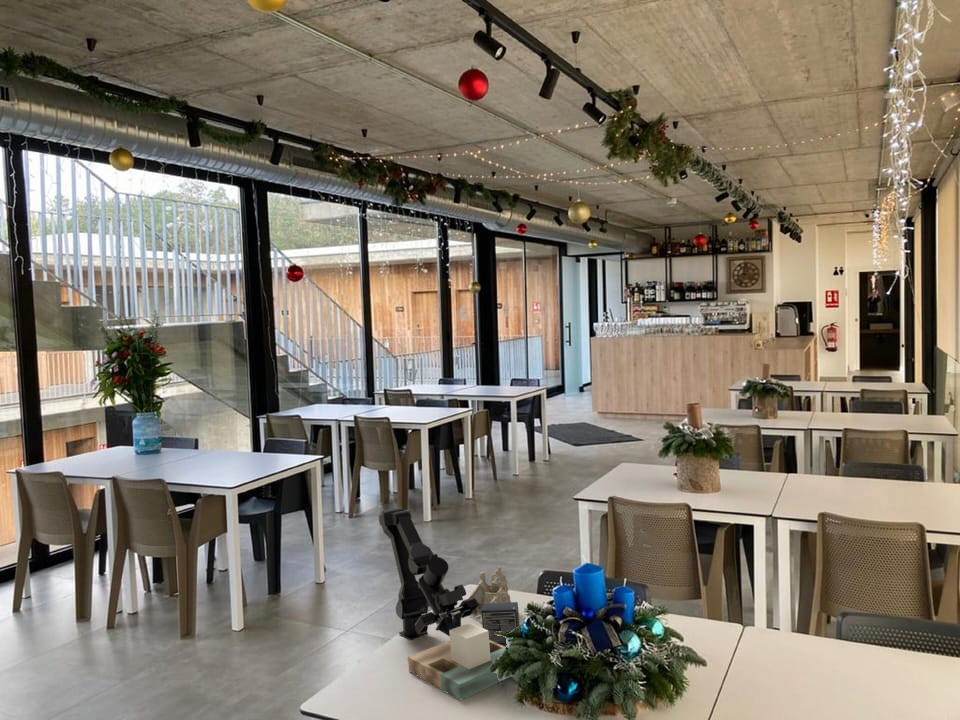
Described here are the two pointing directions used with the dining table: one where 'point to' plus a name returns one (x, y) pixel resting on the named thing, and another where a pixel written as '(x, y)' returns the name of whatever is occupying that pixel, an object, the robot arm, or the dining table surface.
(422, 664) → the trap board
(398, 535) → the robot arm
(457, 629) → the cream block
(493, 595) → the ceramic cottage
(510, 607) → the small box
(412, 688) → the dining table surface
